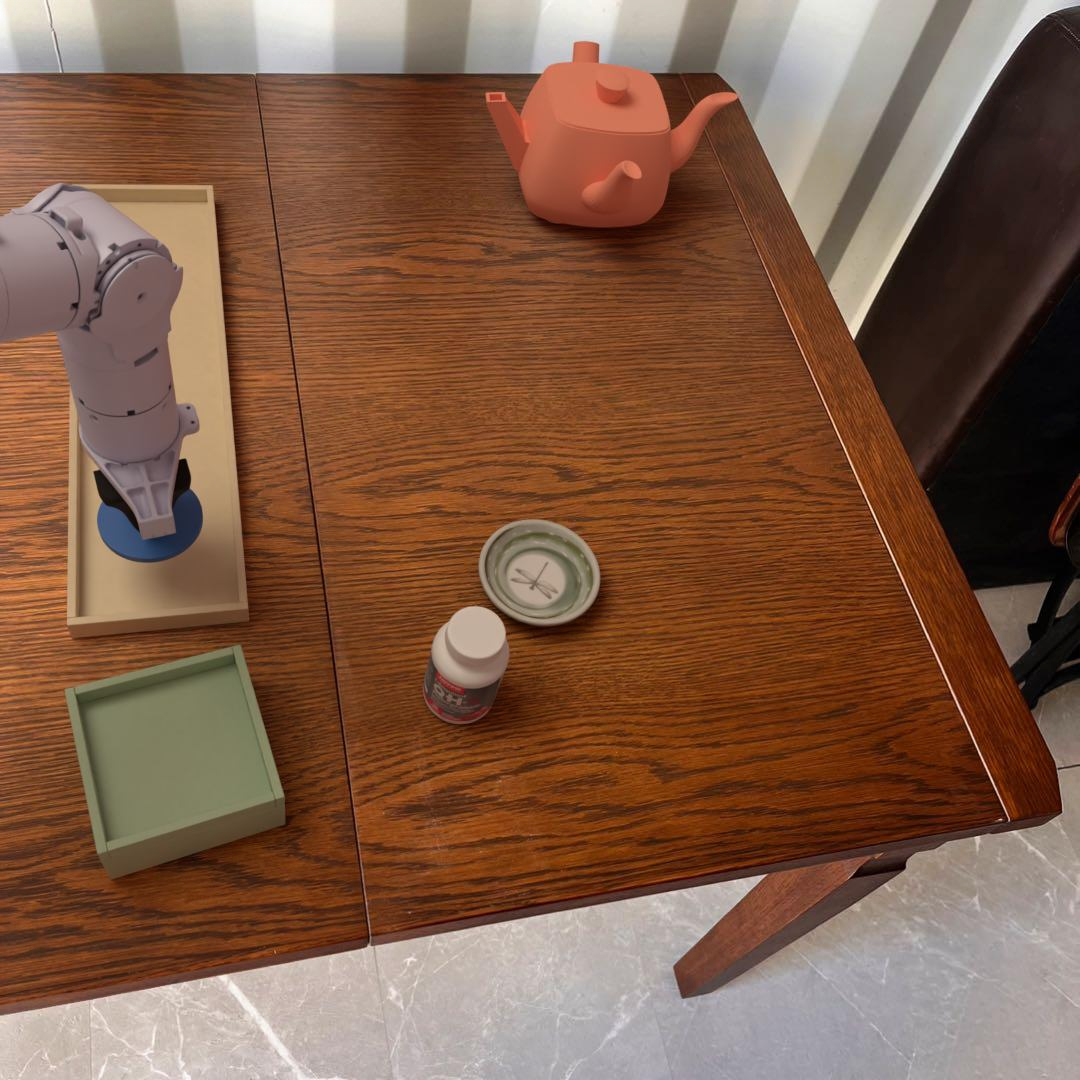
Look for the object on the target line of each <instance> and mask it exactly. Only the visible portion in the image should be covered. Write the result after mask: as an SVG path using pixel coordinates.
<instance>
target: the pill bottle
mask: <svg viewBox="0 0 1080 1080" xmlns="http://www.w3.org/2000/svg"><path fill="white" fill-rule="evenodd" d="M506 631H507V630H506V627H505V624H504V622H503V620H502V619H501V618H500V617H499V615H498V614H497V613H495V612H494V611H493V610H491V609H489V608H486V607H484V606H477V605H473V606H472V605H471V606H467V607H463V608H461V609H459V610H458V611H457V612H455V613H454V614H453V615H452V616H451V617H450V620H448V621H447V622H446V623H444V624H443V625H442V626H441V627H440V628H439V629H438V631H437V632H436V634H435V636H434V638H433V641H432V644H431V648H430V653H429V658H428V661H427V665H426V669H425V673H424V678H423V683H422V694H423V699H424V702H425V704H426V706H427V707H428V709H429V710H430V711H431V712H432V713H433V715H434V716H436V717H437V718H439V719H440V720H442V721H444V722H447V723H449V724H454V725H464V724H465V725H466V724H467V725H469V724H471V723H473V722H476V721H478V720H480V719H481V718H483V717H485V716H486V715H487V714H488V712H489V711H490V709H491V708H492V706H493V704H494V701H495V699H496V697H497V695H498V691H499V688H500V686H501V683H502V680H503V678H504V675H505V673H506V670H507V668H508V666H509V661H510V646H509V645H510V644H509V642H508V639H507V632H506Z"/></svg>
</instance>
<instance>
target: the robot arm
mask: <svg viewBox="0 0 1080 1080" xmlns="http://www.w3.org/2000/svg"><path fill="white" fill-rule="evenodd" d="M182 281H183V267H182V266H179V267H178V268H177V264H175V263H174V262H172V257H171V254H170V252H169V250H168V249H167V247H166V246H165V245H164V244H163V243H161V242H160V241H159V240H157V239H156V238H155V237H153V236H152V235H151V234H149V233H148V232H147V231H145V230H144V229H143V228H141V227H140V226H139V225H138V224H136V223H135V222H134V221H132V220H131V219H130V218H128V217H127V216H126V215H124V214H123V213H122V212H120V211H119V210H118V209H116V208H115V207H114V206H112V205H111V204H110V203H109V202H107V201H106V200H105V199H103V198H102V197H101V196H99V195H97V194H95V193H93V192H92V191H90V190H89V189H87V188H85V187H82V186H79V185H72V184H67V183H64V182H58V183H55V184H53V185H50V186H49V187H47V188H45V189H43V190H42V191H40V192H39V193H37V194H36V195H35V196H34V197H33V198H31V200H30V201H29V202H27V203H25V204H24V205H23V206H21V207H16V208H11V209H10V211H9V212H8V213H5V214H3V215H0V345H3V344H6V343H11V342H15V341H19V340H24V339H28V338H32V337H33V338H34V337H38V336H43V335H46V334H52V333H55V335H56V338H57V341H58V345H59V349H60V352H61V357H62V361H63V365H64V369H65V371H66V376H67V379H68V383H69V389H70V388H71V391H72V395H73V399H74V403H75V407H76V410H77V414H78V418H79V422H80V423H79V435H80V439H81V443H82V445H83V448H84V450H85V451H86V453H87V454H88V455H89V457H90V458H91V459H92V460H93V462H94V463H95V464H96V465H97V467H98V468H99V469H100V470H96V471H93V473H94V477H95V481H96V486H97V490H98V494H99V496H100V498H101V500H102V501H103V502H104V504H105V505H106V506H109V507H113V508H116V509H119V510H120V511H122V512H123V513H124V514H125V516H126V517H127V518H128V520H129V521H130V523H131V524H132V525H133V527H134V528H135V529H136V530H137V531H138V532H140V533H141V537H142V540H146V539H150V538H156V537H161V536H165V535H169V534H174V533H176V528H175V522H174V516H173V509H174V505H175V503H176V501H177V499H178V498H179V497H180V496H181V495H182V494H183V493H185V492H186V491H188V490H189V489H190V485H191V474H190V470H189V467H188V463H187V460H186V458H184V459H179V458H180V452H181V446H182V441H183V438H184V437H185V436H187V435H190V434H194V433H197V432H198V431H199V430H200V425H199V419H198V416H197V412H196V409H195V407H194V406H193V405H192V404H190V403H184V404H177V403H176V396H175V389H174V381H173V374H172V368H171V361H170V354H169V347H168V340H167V339H168V333H169V332H170V331H171V330H172V329H171V322H170V314H171V310H172V307H173V305H174V303H175V301H176V299H177V297H178V294H179V292H180V289H181V285H182Z"/></svg>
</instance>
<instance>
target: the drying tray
mask: <svg viewBox="0 0 1080 1080" xmlns="http://www.w3.org/2000/svg"><path fill="white" fill-rule="evenodd" d="M71 185H79V186H82V187H85V188H87V189H89V190H90V191H92V192H93V193H95V194H97V195H99V196H101V197H102V198H103V199H105V200H106V201H107V202H109V203H110V204H111V205H112V206H114V207H115V208H116V209H118V210H119V211H120V212H122V213H123V214H124V215H126V216H127V217H128V218H130V219H131V220H132V221H134V222H135V223H136V224H138V225H139V226H140V227H141V228H143V229H144V230H145V231H147V232H148V233H149V234H151V235H152V236H153V237H155V238H156V239H157V240H159V241H160V242H161V243H163V244H164V245H165V246H166V247H167V249H168V250H169V252H170V254H171V257H172V262H174V263H175V264H177V268H178V267H179V266H182V267H183V281H182V285H181V289H180V292H179V294H178V297H177V299H176V301H175V303H174V305H173V307H172V310H171V314H170V322H171V329H172V330H171V331H170V332H169V333H168V339H167V340H168V347H169V354H170V361H171V368H172V374H173V381H174V389H175V396H176V403H177V404H184V403H190V404H192V405H193V406H194V407H195V409H196V412H197V416H198V419H199V425H200V430H199V431H198V432H197V433H194V434H190V435H187V436H185V437H184V438H183V441H182V446H181V452H180V458H179V459H184V458H186V460H187V463H188V467H189V470H190V474H191V485H190V489H191V490H192V491H193V492H194V493H195V494H196V496H197V497H198V499H199V501H200V503H201V506H202V511H203V525H202V529H201V532H200V534H199V536H198V538H197V539H196V541H195V542H194V543H193V544H192V545H191V546H190V547H189V548H188V549H187V550H186V551H184V552H183V553H181V554H179V555H178V556H176V557H173V558H171V559H168V560H165V561H161V562H154V563H141V562H134V561H131V560H127V559H125V558H122V557H120V556H118V555H117V554H115V553H114V552H112V551H111V550H110V549H109V548H108V547H107V546H106V545H105V543H104V542H103V540H102V538H101V536H100V533H99V530H98V525H97V515H98V510H99V507H100V505H101V503H102V500H101V498H100V496H99V494H98V490H97V486H96V481H95V477H94V473H93V471H96V470H100V469H99V468H98V467H97V465H96V464H95V463H94V462H93V460H92V459H91V458H90V457H89V455H88V454H87V453H86V451H85V450H84V448H83V445H82V443H81V439H80V435H79V423H80V422H79V418H78V414H77V410H76V407H75V403H74V399H73V395H72V391H71V388H70V387H69V406H68V407H69V409H68V410H69V411H68V412H69V413H68V414H69V415H68V420H69V421H68V426H69V427H68V493H67V495H68V496H67V497H68V501H67V502H68V503H67V569H66V570H67V571H66V572H67V573H66V574H67V576H66V577H67V578H66V581H67V582H66V586H67V587H66V592H67V593H66V626H67V629H68V632H69V635H70V638H71V639H79V638H89V637H91V638H92V637H100V636H111V635H121V634H132V633H143V632H152V631H153V632H155V631H163V630H174V629H175V630H176V629H184V628H194V627H205V626H216V625H227V624H238V623H244V622H245V623H247V622H250V613H249V612H250V611H249V601H248V599H249V598H248V589H247V588H248V587H247V578H246V565H245V551H244V540H243V529H242V528H243V527H242V516H241V504H240V492H239V480H238V470H237V468H238V467H237V457H236V444H235V433H234V422H233V409H232V396H231V385H230V373H229V362H228V349H227V338H226V336H227V335H226V325H225V314H224V301H223V289H222V277H221V265H220V251H219V239H218V229H217V228H218V227H217V217H216V206H215V194H214V193H215V191H214V185H213V184H119V183H118V184H117V183H116V184H114V183H113V184H112V183H111V184H110V183H107V184H106V183H105V184H103V183H101V184H100V183H98V184H95V183H83V184H82V183H72V184H71Z"/></svg>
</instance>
